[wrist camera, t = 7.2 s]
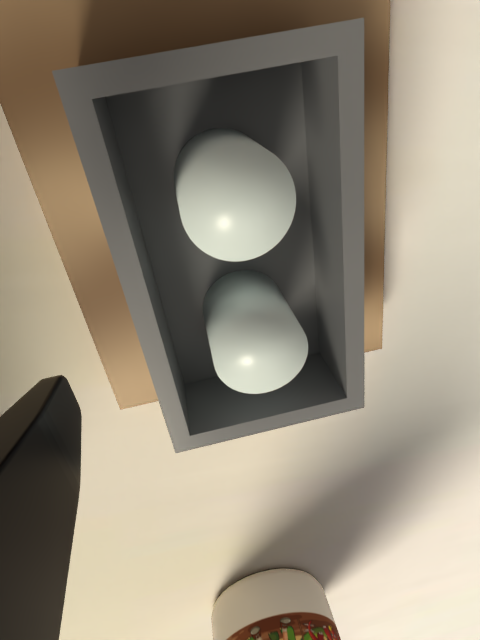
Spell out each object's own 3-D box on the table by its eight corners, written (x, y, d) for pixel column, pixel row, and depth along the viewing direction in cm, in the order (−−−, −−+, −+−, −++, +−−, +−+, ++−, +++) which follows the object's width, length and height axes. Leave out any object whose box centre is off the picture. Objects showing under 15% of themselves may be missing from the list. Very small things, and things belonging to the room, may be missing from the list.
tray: (328, 350, 18) (368, 413, 14) (171, 386, 17) (176, 460, 14) (311, 30, 12) (370, 15, 9) (76, 71, 12) (48, 71, 8)
